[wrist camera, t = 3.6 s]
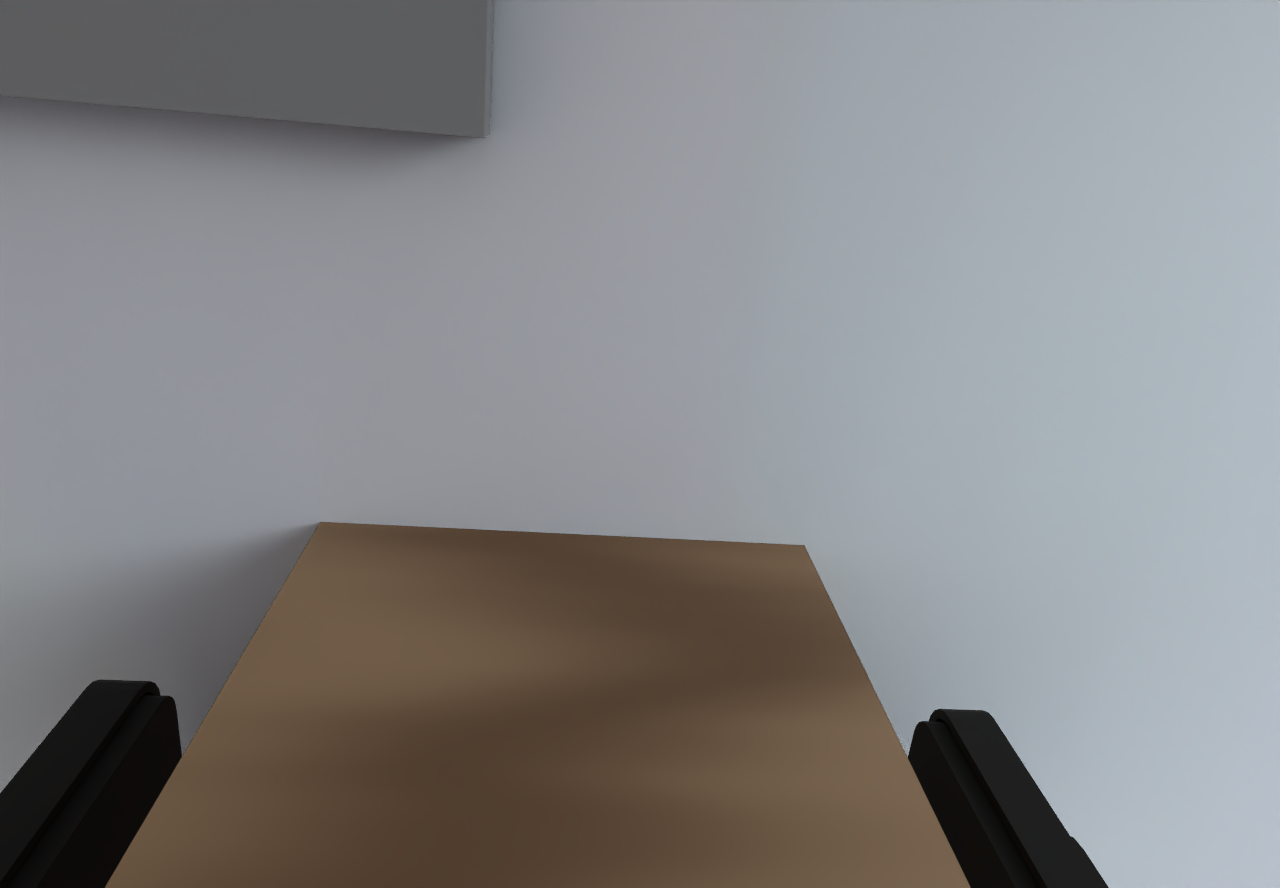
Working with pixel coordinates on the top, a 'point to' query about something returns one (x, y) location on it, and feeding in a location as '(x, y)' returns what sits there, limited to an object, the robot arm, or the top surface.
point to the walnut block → (544, 727)
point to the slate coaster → (261, 59)
